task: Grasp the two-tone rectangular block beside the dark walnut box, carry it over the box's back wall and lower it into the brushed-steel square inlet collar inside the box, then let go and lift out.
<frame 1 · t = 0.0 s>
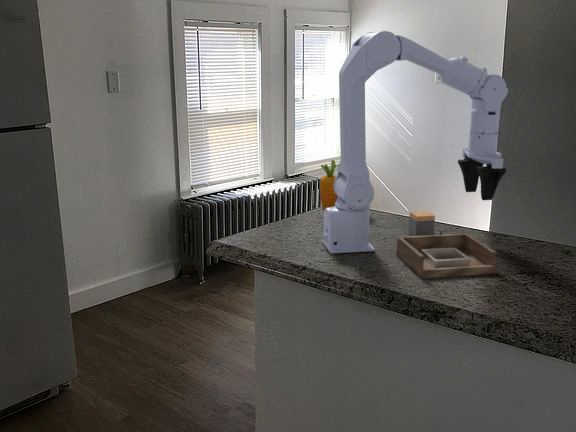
hand: (478, 195, 133), 10 cm above the counter, fingers open, 7 cm apart
walnut box: (444, 264, 120), on the counter
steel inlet: (444, 257, 120), in the walnut box, point 1 cm above the counter
carrot: (329, 222, 150), on the counter
two-tone rectangular block: (420, 245, 132), on the counter
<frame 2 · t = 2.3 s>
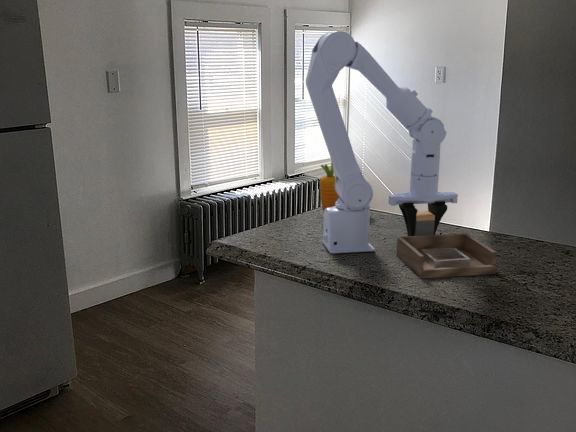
hand: (420, 236, 132), 2 cm above the counter, fingers closed on two-tone rectangular block, 4 cm apart
two-tone rectangular block: (420, 245, 132), on the counter, touching gripper
everything else where it was.
when the fingers open (4 cm above the counter, at t = 6.6 s): two-tone rectangular block drops 2 cm, resting on walnut box.
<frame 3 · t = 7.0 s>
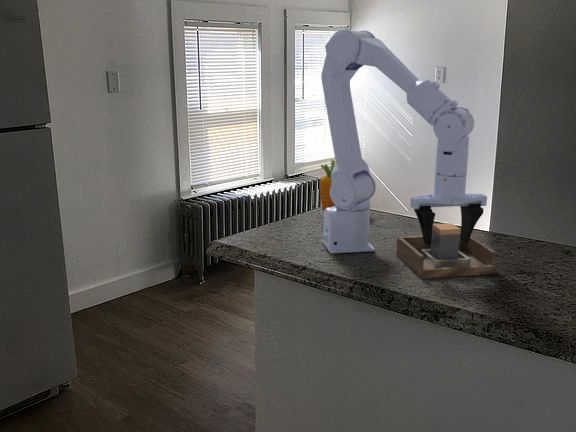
hand: (445, 242, 119), 4 cm above the counter, fingers open, 7 cm apart
two-tone rectangular block: (443, 260, 121), point 1 cm above the counter, touching walnut box
everything else where it was.
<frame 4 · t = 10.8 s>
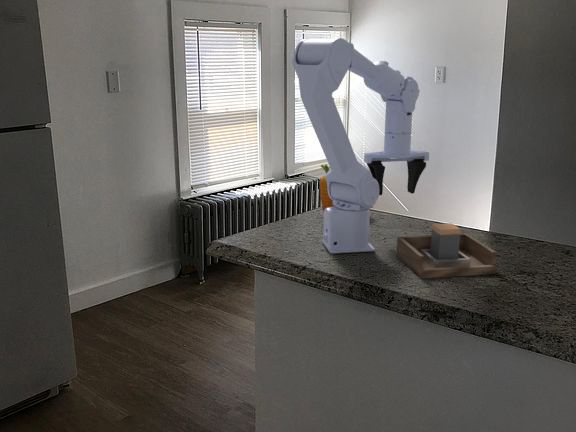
hand: (395, 193, 138), 9 cm above the counter, fingers open, 7 cm apart
nothing on the counter moved.
at the end: two-tone rectangular block 0.3 cm off-centre on the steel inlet, point 0.6 cm above the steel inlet's base; two-tone rectangular block tilted 0°; the gripper is holding nothing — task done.
